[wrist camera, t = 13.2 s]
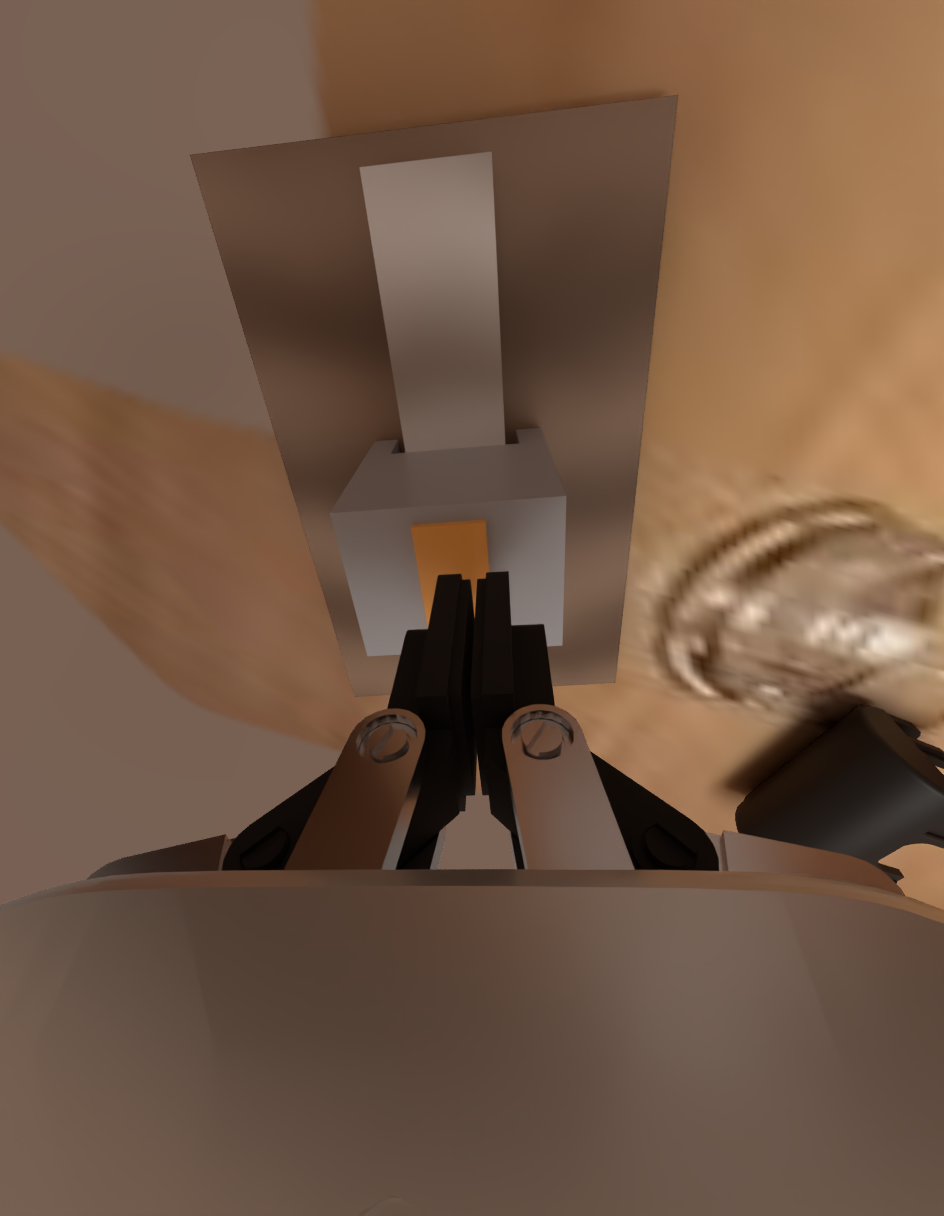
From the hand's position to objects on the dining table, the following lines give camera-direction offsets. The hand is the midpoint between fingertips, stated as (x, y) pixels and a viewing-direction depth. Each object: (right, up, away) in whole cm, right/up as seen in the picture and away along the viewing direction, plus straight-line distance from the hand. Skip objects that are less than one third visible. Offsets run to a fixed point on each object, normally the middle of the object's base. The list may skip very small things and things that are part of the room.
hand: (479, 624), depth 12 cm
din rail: (-1, +6, +9) cm, 11 cm away
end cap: (+21, -9, +19) cm, 30 cm away
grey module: (-1, +5, +8) cm, 9 cm away
